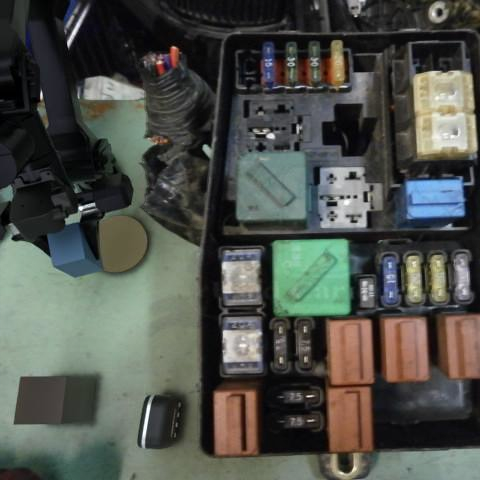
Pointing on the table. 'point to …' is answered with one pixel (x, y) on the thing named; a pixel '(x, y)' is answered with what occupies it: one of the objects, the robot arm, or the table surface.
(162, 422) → the battery charger
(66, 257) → the relay
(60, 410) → the block
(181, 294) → the table surface
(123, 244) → the tan disc
